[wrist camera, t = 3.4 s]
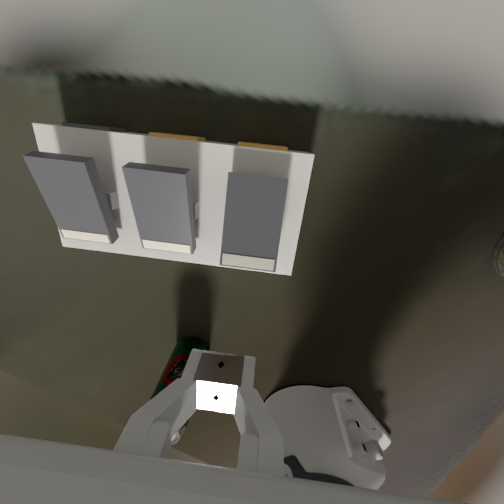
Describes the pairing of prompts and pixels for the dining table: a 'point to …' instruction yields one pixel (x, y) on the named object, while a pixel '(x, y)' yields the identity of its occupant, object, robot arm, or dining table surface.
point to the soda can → (178, 371)
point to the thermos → (499, 257)
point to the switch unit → (202, 183)
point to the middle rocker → (162, 206)
